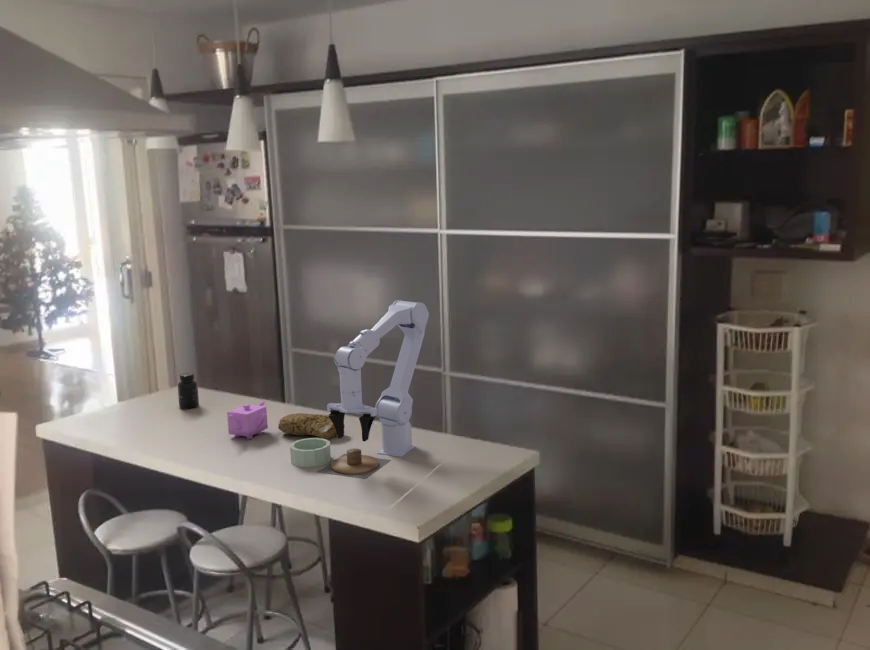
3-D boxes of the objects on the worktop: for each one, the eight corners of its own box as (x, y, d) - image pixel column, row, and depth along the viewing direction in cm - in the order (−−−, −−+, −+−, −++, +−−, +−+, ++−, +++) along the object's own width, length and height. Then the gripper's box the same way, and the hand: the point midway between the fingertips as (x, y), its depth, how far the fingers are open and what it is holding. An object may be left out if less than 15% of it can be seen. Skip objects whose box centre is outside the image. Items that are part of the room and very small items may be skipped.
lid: (345, 455, 231) (344, 441, 230) (386, 460, 226) (385, 445, 225) (321, 471, 219) (321, 456, 219) (364, 477, 214) (363, 461, 213)
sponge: (348, 437, 252) (303, 415, 263) (347, 416, 249) (302, 394, 260) (318, 456, 243) (272, 432, 254) (317, 435, 239) (271, 411, 250)
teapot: (248, 446, 242) (246, 415, 241) (214, 441, 248) (211, 410, 246) (285, 429, 258) (283, 399, 256) (252, 424, 264) (250, 395, 262)
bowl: (305, 452, 235) (304, 436, 235) (337, 457, 231) (337, 440, 230) (283, 465, 226) (282, 448, 225) (317, 470, 221) (316, 452, 220)
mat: (344, 455, 233) (344, 453, 232) (391, 461, 227) (391, 459, 226) (316, 473, 219) (316, 471, 219) (365, 480, 213) (365, 478, 213)
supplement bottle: (175, 409, 283) (172, 376, 281) (184, 404, 290) (182, 371, 288) (194, 409, 282) (191, 376, 280) (202, 404, 289) (200, 371, 287)
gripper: (320, 392, 218) (322, 440, 221) (367, 396, 212) (369, 446, 215) (333, 385, 224) (335, 432, 227) (380, 390, 219) (381, 438, 221)
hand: (353, 438), depth 221 cm, fingers open, 7 cm apart
